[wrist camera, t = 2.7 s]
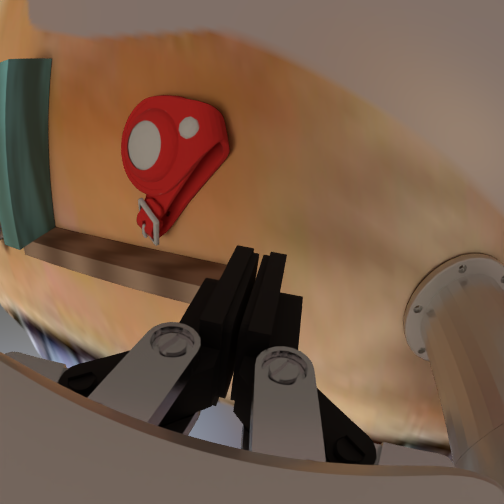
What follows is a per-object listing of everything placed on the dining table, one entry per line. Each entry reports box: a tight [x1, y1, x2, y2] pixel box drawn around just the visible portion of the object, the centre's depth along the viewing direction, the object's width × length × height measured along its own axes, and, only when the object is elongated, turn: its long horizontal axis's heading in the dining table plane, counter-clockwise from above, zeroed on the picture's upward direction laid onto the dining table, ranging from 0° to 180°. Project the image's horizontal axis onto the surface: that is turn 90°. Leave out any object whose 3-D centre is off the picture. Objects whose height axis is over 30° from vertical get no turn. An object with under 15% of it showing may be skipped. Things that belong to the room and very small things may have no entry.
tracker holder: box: [121, 95, 230, 246], centre depth 23 cm, size 12×4×10 cm
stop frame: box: [0, 58, 227, 304], centre depth 23 cm, size 25×21×6 cm
